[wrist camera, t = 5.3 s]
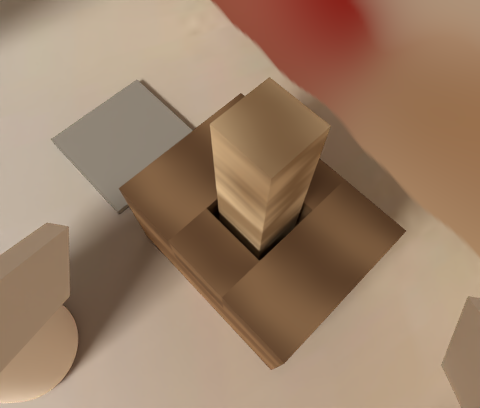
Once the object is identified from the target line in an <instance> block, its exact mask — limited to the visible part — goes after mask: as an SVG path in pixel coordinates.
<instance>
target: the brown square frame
mask: <svg viewBox="0 0 480 408" xmlns="http://www.w3.org/2000/svg"><path fill="white" fill-rule="evenodd" d="M244 97H245V96H244V95H243V94H239V95H238V96H237V97H235V98H234V99H233V100H232V101H230V102H229V103H228V104H226V105H225V106H224V107H223V108H221V109H220V110H219V111H217V112H216V113H215V114H214V115H212V116H211V117H210V118H208V119H207V120H206V121H205V122H203V123H202V124H201V125H199V126H198V127H197V128H196V129H194V130H193V131H192V132H190V133H189V134H188V135H187V136H185V137H184V138H183V139H181V140H180V141H179V142H178V143H176V144H175V145H174V146H172V147H171V148H170V149H169V150H167V151H166V152H165V153H163V154H162V155H161V156H160V157H158V158H157V159H156V160H154V161H153V162H152V163H151V164H149V165H148V166H147V167H145V168H144V169H143V170H142V171H140V172H139V173H138V174H136V175H135V176H134V177H133V178H131V179H130V180H129V181H127V182H126V183H125V184H124V185H122V186H121V187H120V188H119V190H120V192H121V193H122V195H123V197H124V198H125V200H126V202H127V203H128V205H129V207H130V209H131V210H132V212H133V214H134V215H135V217H136V219H137V220H138V222H139V224H140V225H141V227H142V229H143V230H144V232H145V234H146V235H147V237H148V238H149V239H150V240H151V241H152V242H153V243H154V244H155V245H156V246H157V247H158V249H159V250H160V251H161V252H162V253H163V254H164V255H165V256H166V257H167V258H168V259H169V260H170V261H171V263H172V264H173V265H174V266H175V267H176V268H177V269H178V270H179V271H180V272H181V273H182V274H183V275H184V277H185V278H186V279H187V280H188V281H189V282H190V283H191V284H192V285H193V286H194V287H195V288H196V289H197V291H198V292H199V293H200V294H201V295H202V296H203V297H204V298H205V299H206V300H207V301H208V302H209V303H210V305H211V306H212V307H213V308H214V309H215V310H216V311H217V312H218V313H219V314H220V315H221V316H222V317H223V319H224V320H225V321H226V322H227V323H228V324H229V325H230V326H231V327H232V328H233V329H234V330H235V331H236V333H237V334H238V335H239V336H240V337H241V338H242V339H243V340H244V341H245V342H246V343H247V344H248V345H249V347H250V348H251V349H252V350H253V351H254V352H255V353H256V354H257V355H258V356H259V357H260V358H261V359H262V361H263V362H264V363H265V364H266V365H267V366H268V367H269V368H270V369H271V370H272V369H274V368H276V367H278V366H280V365H282V364H284V363H285V362H286V361H287V360H288V359H289V358H290V357H291V356H292V354H293V353H294V352H295V351H296V350H297V349H298V348H299V347H300V346H301V345H302V344H303V343H304V341H305V340H306V339H307V338H308V337H309V336H310V335H311V334H312V333H313V332H314V331H315V330H316V328H317V327H318V326H319V325H320V324H321V323H322V322H323V321H324V320H325V319H326V318H327V317H328V315H329V314H330V313H331V312H332V311H333V310H334V309H335V308H336V307H337V306H338V305H339V303H340V302H341V301H342V300H343V299H344V298H345V297H346V296H347V295H348V294H349V293H350V292H351V290H352V289H353V288H354V287H355V286H356V285H357V284H358V283H359V282H360V281H361V280H362V279H363V277H364V276H365V275H366V274H367V273H368V272H369V271H370V270H371V269H372V268H373V267H374V266H375V264H376V263H377V262H378V261H379V260H380V259H381V258H382V257H383V256H384V255H385V254H386V252H387V251H388V250H389V249H390V248H391V247H392V246H393V245H394V244H395V243H396V242H397V241H398V239H399V238H400V237H401V236H402V235H403V234H404V233H405V232H406V230H405V229H403V228H402V227H401V226H400V225H399V224H397V223H396V222H395V221H394V220H393V219H391V218H390V217H389V216H388V215H387V214H385V213H384V212H383V211H382V210H381V209H379V208H378V207H377V206H376V205H375V204H373V203H372V202H371V201H370V200H369V199H367V198H366V197H365V196H364V195H363V194H361V193H360V192H359V191H358V190H357V189H355V188H354V187H353V186H352V185H351V184H349V183H348V182H347V181H346V180H345V179H343V178H342V177H341V176H340V175H339V174H337V173H336V172H335V171H334V170H333V169H331V168H330V167H329V166H328V165H327V164H325V163H324V162H323V161H322V160H321V159H319V160H318V163H317V166H316V169H315V171H314V174H313V177H312V180H311V183H310V185H309V188H308V191H307V194H306V196H305V199H304V202H303V205H302V208H301V210H300V213H299V216H298V219H297V221H296V224H295V227H294V229H293V230H292V231H291V232H290V233H289V234H288V235H286V236H285V237H284V238H283V239H282V240H281V241H280V242H279V243H278V244H277V245H276V246H275V247H274V248H273V249H272V250H271V251H270V252H269V253H268V254H267V255H266V256H265V257H264V258H262V259H261V260H260V261H259V260H258V259H257V258H256V257H255V256H254V255H253V254H252V253H251V252H250V251H249V250H248V249H247V248H246V247H245V246H244V245H243V244H242V243H241V242H240V241H239V240H238V239H237V238H236V237H235V236H234V235H233V234H232V233H231V232H230V231H229V230H228V229H227V228H226V227H225V226H224V225H223V224H222V223H221V222H220V219H219V209H218V199H217V189H216V180H215V170H214V160H213V150H212V141H211V131H210V123H212V122H213V121H214V120H216V119H217V118H218V117H219V116H221V115H222V114H223V113H224V112H226V111H227V110H228V109H230V108H231V107H232V106H233V105H235V104H236V103H237V102H238V101H240V100H241V99H242V98H244Z"/></svg>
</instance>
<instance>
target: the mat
mask: <svg viewBox="0 0 480 408" xmlns="http://www.w3.org/2000/svg"><path fill="white" fill-rule="evenodd" d="M192 131H193V130H192V129H191V128H189V127H188V126H187V125H186V124H185V123H184V122H183V121H182V120H181V119H180V118H179V117H177V116H176V115H175V114H174V113H173V112H172V111H171V110H170V109H169V108H168V107H167V106H165V105H164V104H163V103H162V102H161V101H160V100H159V99H158V98H157V97H156V96H154V95H153V94H152V93H151V92H150V91H149V90H148V89H147V88H146V87H145V86H144V85H142V84H141V83H140V82H139V81H138V80H136V81H134V82H133V83H131V84H130V85H128V86H127V87H126V88H124V89H123V90H121V91H120V92H118V93H117V94H115V95H114V96H113V97H111V98H110V99H108V100H107V101H105V102H104V103H103V104H101V105H100V106H98V107H97V108H95V109H94V110H92V111H91V112H90V113H88V114H87V115H85V116H84V117H82V118H81V119H79V120H78V121H77V122H75V123H74V124H72V125H71V126H69V127H68V128H67V129H65V130H64V131H62V132H61V133H59V134H58V135H56V136H55V137H54V138H52V139H51V140H52V142H53V143H54V144H55V145H56V146H57V147H58V148H59V149H60V150H61V152H62V153H63V154H64V155H65V156H66V157H67V158H68V159H69V160H70V161H71V162H72V163H73V165H74V166H75V167H76V168H77V169H78V170H79V171H80V172H81V173H82V174H83V175H84V176H85V178H86V179H87V180H88V181H89V182H90V183H91V184H92V185H93V186H94V187H95V188H96V190H97V191H98V192H99V193H100V194H101V195H102V196H103V197H104V198H105V199H106V200H107V201H108V203H109V204H110V205H111V206H112V207H113V208H114V209H115V210H116V211H117V212H118V213H119V214H120V213H122V212H123V211H124V210H125V209H127V208H128V207H129V205H128V203H127V202H126V200H125V198H124V197H123V195H122V193H121V192H120V190H119V188H120V187H121V186H122V185H124V184H125V183H126V182H127V181H129V180H130V179H131V178H133V177H134V176H135V175H136V174H138V173H139V172H140V171H142V170H143V169H144V168H145V167H147V166H148V165H149V164H151V163H152V162H153V161H154V160H156V159H157V158H158V157H160V156H161V155H162V154H163V153H165V152H166V151H167V150H169V149H170V148H171V147H172V146H174V145H175V144H176V143H178V142H179V141H180V140H181V139H183V138H184V137H185V136H187V135H188V134H189V133H190V132H192Z"/></svg>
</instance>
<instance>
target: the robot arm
mask: <svg viewBox="0 0 480 408" xmlns="http://www.w3.org/2000/svg"><path fill="white" fill-rule="evenodd" d="M69 297H70V268H69V227H68V226H63V225H57V224H51V223H46V224H44V225H43V226H41V227H40V228H39V229H37V230H36V231H34V232H33V233H31V234H30V235H29V236H27V237H26V238H24V239H23V240H21V241H20V242H19V243H17V244H16V245H14V246H13V247H11V248H10V249H9V250H7V251H6V252H4V253H3V254H1V255H0V373H1V371H2V370H3V369H4V368H5V367H6V366H7V365H8V364H9V363H10V362H11V360H12V359H13V358H14V357H15V356H16V355H17V354H18V353H19V352H20V351H21V349H22V348H23V347H24V346H25V345H26V344H27V343H28V342H29V341H30V340H31V338H32V337H33V336H34V335H35V334H36V333H37V332H38V331H39V330H40V329H41V327H42V326H43V325H44V324H45V323H46V322H47V321H48V320H49V319H50V318H51V316H52V315H53V314H54V313H55V312H56V311H57V310H58V309H59V308H60V306H61V305H62V304H63V303H64V302H65V301H66V300H67V299H68V298H69ZM441 365H442V368H443V370H444V372H445V374H446V376H447V378H448V380H449V382H450V385H451V387H452V389H453V391H454V393H455V395H456V397H457V399H458V401H459V404H460V406H461V408H480V298H475V297H470V296H468V297H467V300H466V303H465V305H464V308H463V310H462V313H461V315H460V318H459V321H458V323H457V326H456V328H455V331H454V333H453V336H452V339H451V341H450V344H449V346H448V349H447V351H446V354H445V357H444V359H443V362H442V364H441Z"/></svg>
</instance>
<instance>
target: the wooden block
mask: <svg viewBox="0 0 480 408" xmlns="http://www.w3.org/2000/svg"><path fill="white" fill-rule="evenodd" d="M330 127H331V126H330V125H329V124H328V123H326V122H325V121H324V120H323V119H321V118H320V117H319V116H318V115H316V114H315V113H314V112H313V111H311V110H310V109H309V108H308V107H306V106H305V105H304V104H303V103H301V102H300V101H299V100H298V99H296V98H295V97H294V96H292V95H291V94H290V93H289V92H287V91H286V90H285V89H284V88H282V87H281V86H280V85H279V84H277V83H276V82H275V81H274V80H272V79H271V78H270V77H269V78H268V79H267V80H265V81H264V82H263V83H261V84H260V85H259V86H258V87H256V88H255V89H254V90H253V91H251V92H250V93H249V94H247V95H246V96H245V97H244V98H242V99H241V100H240V101H238V102H237V103H236V104H235V105H233V106H232V107H231V108H230V109H228V110H227V111H226V112H224V113H223V114H222V115H221V116H219V117H218V118H217V119H216V120H214V121H213V122H212V123H210V131H211V141H212V150H213V160H214V170H215V180H216V189H217V199H218V209H219V219H220V222H221V223H222V224H223V225H224V226H225V227H226V228H227V229H228V230H229V231H230V232H231V233H232V234H233V235H234V236H235V237H236V238H237V239H238V240H239V241H240V242H241V243H242V244H243V245H244V246H245V247H246V248H247V249H248V250H249V251H250V252H251V253H252V254H253V255H254V256H255V257H256V258H257V259H258V260H259V261H260V260H261V259H262V258H264V257H265V256H266V255H267V254H268V253H269V252H270V251H271V250H272V249H273V248H274V247H275V246H276V245H277V244H278V243H279V242H280V241H281V240H282V239H283V238H284V237H285V236H286V235H288V234H289V233H290V232H291V231H292V230H293V229H294V227H295V224H296V221H297V219H298V216H299V213H300V210H301V208H302V205H303V202H304V199H305V196H306V194H307V191H308V188H309V185H310V183H311V180H312V177H313V174H314V171H315V169H316V166H317V163H318V160H319V158H320V155H321V152H322V149H323V146H324V144H325V141H326V138H327V135H328V133H329V130H330Z"/></svg>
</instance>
